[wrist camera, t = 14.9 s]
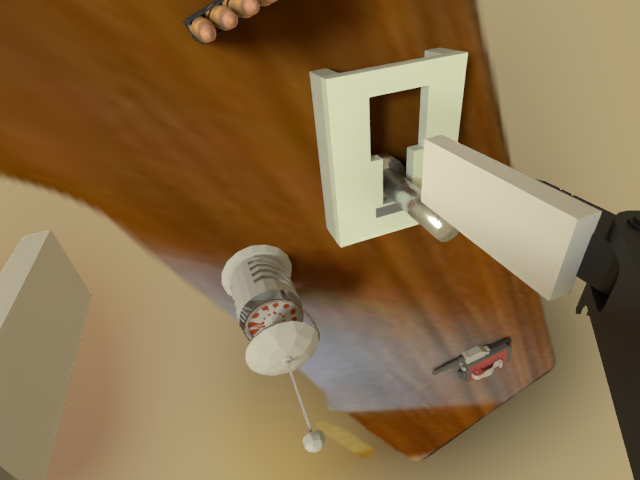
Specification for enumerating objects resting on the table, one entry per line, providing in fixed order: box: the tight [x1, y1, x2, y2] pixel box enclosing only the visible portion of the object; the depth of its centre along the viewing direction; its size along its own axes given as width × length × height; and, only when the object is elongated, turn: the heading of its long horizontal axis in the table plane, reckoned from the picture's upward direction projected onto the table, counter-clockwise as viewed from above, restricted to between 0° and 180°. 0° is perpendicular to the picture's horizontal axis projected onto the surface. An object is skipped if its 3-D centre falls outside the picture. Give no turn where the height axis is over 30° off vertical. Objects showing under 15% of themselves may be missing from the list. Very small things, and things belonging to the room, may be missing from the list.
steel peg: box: [376, 153, 459, 242], centre depth 43 cm, size 6×6×15 cm
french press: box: [222, 245, 325, 452], centre depth 41 cm, size 10×12×25 cm
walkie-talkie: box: [432, 338, 511, 382], centre depth 81 cm, size 9×4×20 cm
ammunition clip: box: [183, 0, 278, 44], centre depth 29 cm, size 11×2×12 cm, turn 116°
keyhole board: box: [309, 48, 468, 247], centre depth 44 cm, size 20×16×5 cm
